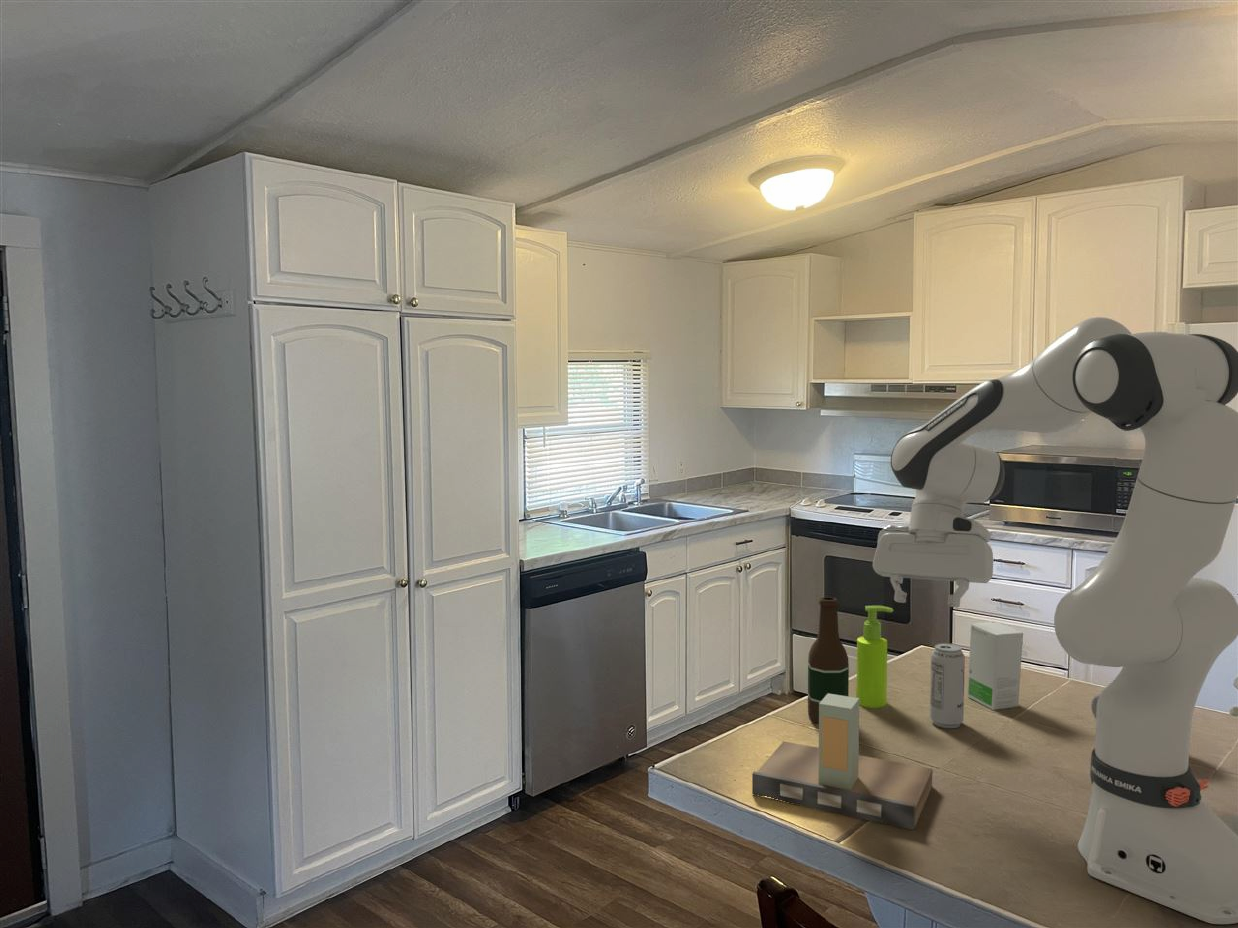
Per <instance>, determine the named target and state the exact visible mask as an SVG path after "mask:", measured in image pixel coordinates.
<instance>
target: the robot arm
mask: <svg viewBox="0 0 1238 928" xmlns="http://www.w3.org/2000/svg"><path fill="white" fill-rule="evenodd" d="M1237 395H1238V350H1237V349H1236V348H1235V347H1234V346H1233V345H1232V344H1231V343H1229V342H1227V341H1225V340H1223V339H1221V338H1218V337H1215V336H1213V335H1212V336H1211V335H1207V334H1202V333H1191V334H1190V333H1189V334H1183V333H1175V332H1173V333H1172V332H1166V331H1147V332H1136V333H1132V332H1131V331H1130V329H1128V328H1127V327H1126V326H1125V325H1123V324H1122V323H1121V322H1118V321H1117V320H1114V319H1112V318H1108V317H1100V316H1098V317H1090V318H1087V319H1085V320H1082V321H1081V322H1080V323H1077V324H1075V325H1074V326H1072V327H1071V328H1070V329H1068V330H1067V331H1066V332H1064V333H1062V334H1061V335H1060V336H1058V337H1057V338H1056V339H1055V340H1053V341H1052V342H1050V344H1048V346H1047V347H1045V348H1044V349H1043V350H1042V351H1041V352H1040V353H1039V354H1038V355H1037V356H1036V357H1034V358H1033V359H1032V360H1031V361H1030V362H1028V363H1027V364H1025V365H1023V366H1022V367H1020V368H1018V369H1016V370H1015V371H1012V372H1010V373H1008V374H1006V375H1004V376H1001V377H998V378H996V379H995V378H994V379H990V380H988V381H987V380H986V381H985V382H982V383H980V384H978V385H976V386H975V387H973V388H972V389H970V390H969V391H968V392H966V393H965V394H963V395H962V396H960V398H957V399H956V400H955V401H954V402H952V403H951V404H950V405H948V406H947V407H946V408H945V409H943V410H942V411H940V412H939V413H937V414H936V415H935V416H934V417H932V418H931V419H930V420H928V421H927V422H925V423H924V424H922V425H921V426H918V427H915V428H913V429H911V430H910V431H908V432H907V433H905V434H904V435H902V436H901V437H900V438H899V439H898V440H897V442H896V444H895V445H894V447H893V450H892V452H891V456H890V467H891V470H892V473H893V475H894V476H895V478H896V479H897V481H898V483H900V484H901V486H902V487H903V488H906V489H912V490H915V496H914V500H913V502H912V505H911V511H910V518H909V525H897V526H896V525H887V526H886V527H884V528H882V529H881V530H880V531H879V533H878V535H877V546H876V549H875V552H874V557H873V561H872V569H873V570H874V573H876V574H877V575H879V576H881V577H888V578H889V581H890V583H891V586H892V588H893V591H894V596H893V600H894V601H895V603H903V604H904V603H907V595H908V593H907V592H905V591H903V590H902V587H901V584H903V583H904V582H903V581H904V579H915V580H928V581H929V580H932V581H948V582H955V585H956V586H957V588H956V590H955V591H954V593H953V594H948V596H947V599H948V600H947V602H946V603H947V604H946V605H947V606H948V607H951V608H960V605H961V598H962V597H963V596H965V594H966V593H967V591H968V590H969V588H970V583H972V584H973V583H976V584H977V583H978V584H987V583H989V581H990V580H992V578H993V575H994V573H993V572H994V553H993V549H992V547H991V545H990V544H988V543H989V542H990V541H991V536H992V535H991V532H990V531H989V530H988V529H987V528H986V527H985V526H984V524H981V523H980V522H979V521H976V520H974V519H972V518H968V517H965V508H964V507H965V505H966V504H968V503H971V504H983V503H986V502H988V501H990V500H991V499H993V498H995V497H996V496H997V495H999V494H1000V492H1001V491H1002V489H1003V486H1004V482H1005V475H1006V474H1005V473H1006V472H1005V466H1004V461H1003V459H1002V458H1001V456H1000V454H999V453H998V452H997V451H994V450H993V449H990V448H988V447H985V446H981V445H978V444H974V443H970V442H968V441H966V439H968V438H969V437H971V436H973V435H974V434H977V433H980V432H985V431H993V430H996V431H997V430H1002V431H1003V430H1006V431H1007V430H1008V431H1021V432H1029V433H1030V432H1031V433H1039V434H1040V433H1042V434H1049V433H1050V434H1051V433H1057V432H1060V431H1063V430H1066V429H1068V428H1072V427H1073V426H1075V425H1076V424H1078V423H1080V422H1082V421H1083V420H1084V419H1086V418H1087V417H1088V416H1089V415H1090V414H1091V413H1094V414H1096V415H1098V416H1099V417H1102V418H1104V419H1106V420H1108V421H1110V422H1111V423H1112V425H1113V424H1114V426H1115V427H1117V428H1118V429H1120V430H1122V431H1124V432H1129V431H1130V432H1131V431H1133V430H1138V429H1140V430H1141V433H1142V434H1143V437H1144V442H1145V444H1144V445H1145V447H1144V451H1143V456H1142V459H1141V460H1142V461H1141V463H1140V467H1139V470H1138V472H1137V476H1136V480H1135V483H1134V487H1133V490H1132V494H1131V497H1130V501H1129V504H1128V508H1127V511H1126V514H1125V517H1124V520H1123V522H1122V525H1121V529H1120V531H1119V532H1118V534H1117V536H1116V539H1115V540H1114V542H1113V544H1112V545H1111V546H1110V548H1109V550H1108V551H1107V552H1106V554H1105V555H1104V557H1103V558H1102V559H1101V561H1100V563H1099V564H1098V565H1097V567H1096V568H1095V569H1094V570H1093V571H1092V573H1091V574H1090V575H1089V576H1088V577H1087V578H1086V579H1085V580H1084V581H1083V582H1081V583H1080V584H1079V585H1078V586H1076V587H1075V588H1074V589H1072V590H1071V591H1070V592H1068V593H1066V594H1065V595H1064V596H1062V598H1061V599H1060V600H1059V602H1058V604H1057V605H1056V608H1055V612H1054V618H1053V625H1054V631H1055V636H1056V638H1057V640H1058V643H1059V644H1060V646H1061V647H1062V649H1063V650H1064V652H1066V654H1067V655H1068V656H1069V657H1071V658H1072V659H1074V660H1075V661H1076V662H1078V663H1081V664H1085V665H1094V666H1099V667H1100V666H1101V667H1107V668H1121V670H1120V671H1119V672H1118V674H1117V676H1116V677H1115V679H1113V680H1112V682H1111V683H1109V684H1108V685H1106V687H1105V688H1104V689H1103V690H1102V691H1101V692H1100V693H1099V694H1100V696H1099V698H1098V701H1097V712H1096V718H1095V739H1094V744H1095V745H1094V748H1093V749H1092V751H1091V754H1090V755H1091V756H1090V757H1091V758H1090V771H1089V772H1090V773H1089V775H1090V782H1091V787H1092V788H1091V794H1090V801H1089V802H1090V803H1089V807H1088V812H1087V816H1086V820H1085V824H1084V827H1083V830H1082V833H1081V835H1080V838H1079V841H1078V843H1077V849H1078V852H1079V853H1080V854H1079V855H1081V856H1082V858H1083V859H1084V860H1085V861H1086V864H1087V865H1086V866H1087V867H1086V868H1087V869H1086V870H1087V873H1088V875H1090V876H1091V877H1093V878H1095V879H1097V880H1100V881H1102V882H1105V883H1107V884H1109V885H1112V886H1114V887H1117V888H1120V889H1123V890H1125V891H1127V892H1130V893H1132V894H1135V895H1137V896H1140V897H1143V898H1145V899H1147V900H1150V901H1152V902H1154V903H1158V904H1160V905H1163V906H1165V907H1168V908H1170V909H1173V910H1175V911H1178V912H1180V913H1182V914H1185V915H1186V916H1187V915H1188V916H1189V917H1192V918H1194V919H1197V920H1200V921H1203V922H1205V923H1208V924H1211V925H1213V924H1214V925H1230V924H1231V925H1232V924H1237V923H1238V835H1237V834H1236V833H1235V832H1234V831H1233V830H1232V829H1231V828H1230V827H1229V826H1228V825H1227V824H1225V822H1224V821H1223V820H1222V819H1221V818H1220V817H1219V816H1218V815H1217V814H1216V813H1215V812H1214V811H1213V810H1212V809H1211V808H1210V807H1209V806H1208V805H1207V804H1206V802H1205V801H1204V800H1203V799H1202V794H1201V791H1203V790H1206V789H1208V788H1209V785H1208V783H1209V781H1210V780H1209V779H1207V778H1205V779H1203V780H1201V781H1197V779H1196V777H1195V775H1194V772H1193V770H1192V767H1191V766H1190V764H1189V757H1190V745H1191V744H1190V742H1191V732H1192V724H1193V715H1194V711H1195V707H1196V703H1197V701H1198V698H1199V694H1200V692H1201V691H1202V690H1201V689H1202V687H1203V685H1204V683H1205V681H1206V678H1207V676H1208V675H1209V673H1210V670H1211V668H1212V667H1213V665H1214V664H1215V662H1216V661H1217V659H1218V658H1219V656H1220V655H1221V654H1222V653H1223V651H1225V650H1226V649H1227V648H1228V647H1229V646H1230V645H1231V644H1233V643H1234V641H1235V640H1236V639H1237V637H1238V602H1237V600H1236V598H1235V597H1234V596H1233V594H1232V592H1230V591H1229V590H1228V589H1227V588H1226V587H1224V586H1223V585H1222V584H1220V583H1218V582H1216V581H1213V580H1211V579H1210V580H1209V579H1204V578H1198V577H1194V576H1196V575H1197V574H1198V573H1199V572H1200V571H1202V570H1203V569H1205V568H1206V567H1207V566H1209V565H1210V564H1211V563H1212V562H1213V561H1214V560H1215V559H1216V558H1217V557H1218V555H1219V553H1220V552H1221V551H1222V547H1223V545H1224V544H1223V543H1224V540H1225V537H1226V534H1227V530H1228V528H1229V525H1230V522H1231V518H1232V515H1233V512H1234V509H1235V506H1236V502H1237V499H1238V412H1237V410H1235V409H1233V408H1232V407H1230V406H1228V405H1227V404H1229V403H1230V402H1232V401H1233V399H1234V398H1235V397H1236V396H1237Z"/></svg>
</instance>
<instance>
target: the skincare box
mask: <svg viewBox="0 0 1238 928" xmlns="http://www.w3.org/2000/svg"><path fill="white" fill-rule="evenodd" d="M1023 640H1024V632H1022V631H1020V630H1017V629H1015V628H1013V627H1011V626H1010V625H1005V624H1004V623H1000V622H998V621H995V620H993V621H984V622H975V623H971V624H970V640H969V657H968V659H969V660H968V675H967V676H968V677H967V691H966V695H967V697H968V698H969V699H972V700H973V701H974V702H977V703H979V704H981V705H983V706H984V707H987V708H988V709H990V710H991V711H997V710H1003V709H1004V710H1005V709H1009V708H1010V709H1011V708H1017V707H1018V708H1019V702H1020V701H1019V699H1020V685H1021V684H1020V683H1021V674H1022V673H1021V672H1022V671H1021V669H1022V658H1023V657H1022V654H1023V643H1024V641H1023Z"/></svg>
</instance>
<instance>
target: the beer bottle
mask: <svg viewBox="0 0 1238 928" xmlns="http://www.w3.org/2000/svg"><path fill="white" fill-rule="evenodd" d="M818 604H819V605H820V606H819V619H818V621H819V622H818V631H817V632H818V633H817V638H816V640H815V641H814V642H813V643H812V645H811V647H810V650H809V652H808V656H807V657H808V659H807V715H808V717H809V719H810V721H811V724H812V723H813V724H815V725H818V726H819V703H820V702H821V701H822V700H823V698H824V697H825V696H826V695H827V694H828V693H829V694H835V695H842V696H848V697H849V692H850V691H849V689H850V688H849V685H850V684H849V683H850V680H849V679H850V678H849V677H850V676H849V675H850V674H849V673H850V668H849V666H850V665H849V656H848V654H847V651H846V648H845V646H844V645H843V644H842V642H841V640H840V632H839V617H838V606H839V605H840V604H839V600H838V599H837V598H836V597H833V596H823V597H821V598H819V601H818Z"/></svg>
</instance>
